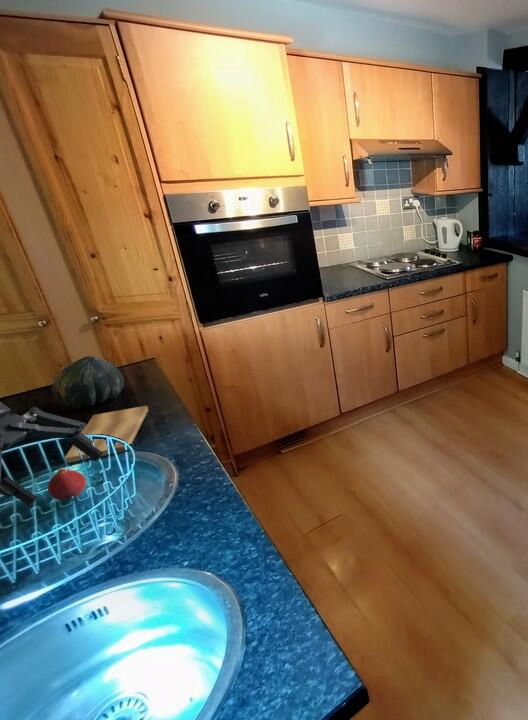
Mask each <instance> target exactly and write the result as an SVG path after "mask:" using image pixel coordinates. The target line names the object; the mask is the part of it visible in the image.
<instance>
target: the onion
mask: <svg viewBox="0 0 528 720" xmlns="http://www.w3.org/2000/svg"><path fill="white" fill-rule="evenodd" d="M87 483H88V482H87V479H86V476H85V475H84V474H83V473H82V472H79V471H77V470H73V469H66V468H64V467H61V468H59V469H58V470H57V472H56V473H55V474H54V475H53V476H52V477H51V478H50V480H49V481H48V483H47V492H48V494H49V496H50V497H51V498H53V499H55V500H57V501H69V500H72V499H71V497H72V496H73V497H74V499H73V500H75V499H77V498H78V497H79V496H80V495H81V494H82V493H83V492H84V490H85V488H86V486H87Z"/></svg>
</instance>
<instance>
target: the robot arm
mask: <svg viewBox="0 0 528 720" xmlns="http://www.w3.org/2000/svg"><path fill="white" fill-rule="evenodd" d="M28 421H30V422H36V423H28ZM39 424H43V425H39ZM86 425H87V424H86V423H85V422H82V421H79V420H75V419H72V418H68V417H64V416H60V415H56V414H52V413H49V412H45V411H43V410H41V409H40V408H38V407H35V406H33V407H30V409H29V411H27V412H26V413H24V414H23V415H19V414H17V413H15V412H14V410H13V409H11V408H10V407H9V406H7V405H6V404H5V403H3V402H2V401H0V495H2V496H4V497H5V498H12V497H15V498H16V499H17V500H19V501H20V502H22V503H24V504H25V505H26V506H28V507H30V506H32V505H33V504H35V502H36V500H37V499H38V495H35V494H34V493H32V492H31V491H30V490H28V489H26V488H25V487H24V486H22V485H21V484H19V483H18V482H17V481H15V480H14V479H12V478H11V477H9V476H5V477H4V478H2V460H3V459H2V456H3V450H4V449H6V450H8V449H10V448H11V447H13V445H15V444H17V443H20V442H22V441H24V440H25V438H34V437H35V438H52V439H65V440H70V442H69V443H70V444H71V445H72V446H73V445H74V446H75V447H77V448H78V449H79V450H81V451H82V452H83V453H85V454H86V455H88V456H89V457H90V458H91V459H92V460H93V461H94V462H97V461H98V460H100V458H101V457H102V456H101V455H102V454H103V453H102V452H101V451H100V450H98V449H97V448H96V447H94V446H93V445H92V443H93V441H92V440H91V439H89V438H88V437H87V436H85V435H84V434H83V433H82V431H83V430H84V428H85V427H86ZM1 478H2V479H1Z"/></svg>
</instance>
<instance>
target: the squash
mask: <svg viewBox="0 0 528 720" xmlns="http://www.w3.org/2000/svg"><path fill="white" fill-rule="evenodd" d="M124 384H125V379H124V376H123V374H122V372H121V371H120V370H119V369H118V368H117V367H116V366H115V364H113V363H112V362H110V361H107V360H105V359H103V358H100V357H97V356H94V355H87V356H84V357H81V358H79V359H77V360H75V361H73V362H72V363H71V364H69V365H67V366H65V367H64V368H63V369H62V370H61V371H60V372H59V373H57V375H56V376H55V378H54V380H53V383H52V386H51V391H52V395H53V398H54V399H55V400H56V401H57V402H58V403H59V404H60V405H62V406H65V407H69V408H71V409H82V408H84V407H86V406H87V407H92V406H94V405H96V404H101V403H104V402H109V401H113V400H115V399H116V398H117V397H118V396H119V394H120V393H121V391H122V390H123V388H124Z"/></svg>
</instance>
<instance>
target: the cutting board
mask: <svg viewBox="0 0 528 720" xmlns="http://www.w3.org/2000/svg"><path fill="white" fill-rule="evenodd" d="M148 412H149V408H148V405H143V406H137V407H132V408H131V407H130V408H126V409H125V408H124V409H120V410H113V411H108V412H103V413H97V414H93V415H92V416H91V418H90V419H89V420H88V422H87V424H86V426H85V427H84V429H83V430H82V433H83V434H103V435H110V436H114V437H117V438H120V439H122V440H124V441H126V442H127V443H128V444H131V445H133V442H134V440H135V438H136V437H137V434H138V432H139V430H140V428H141V426H142V424H143V422H144V420H145V418H146V416H147V414H148ZM94 446H95V447H96V448H97V449H98V450H100V451H101V452H102V453H103V454H102V455H101V457H106V456H108V455H107V451H108V449H107V444H106V440H104V439H94ZM115 448H116V450H117V451H118V453H117V454H119V453H124V450H125V448H124V445H123V444H121V443H119V442H116V443H115ZM81 456H82V459H83V460H82V461H85V460H89V459H88V455H86V454H85V453H83V452H82V451H81ZM64 458H66V460H67V462H68V463H67V464H72V463H76V462H81V461H80V459H81V458H80V455H79V452H78V450H77V447H75V446H74V445H72V446H71V447H70V449H69V450H68V452H67V453H66V455H65V456H64Z"/></svg>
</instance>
